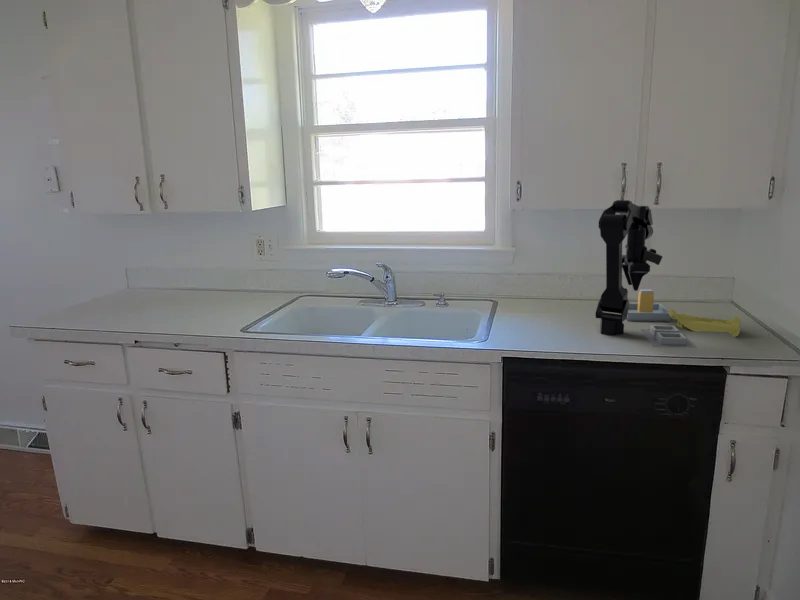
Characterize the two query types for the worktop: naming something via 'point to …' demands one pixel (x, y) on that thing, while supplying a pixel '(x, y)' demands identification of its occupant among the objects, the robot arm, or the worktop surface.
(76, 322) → the worktop surface
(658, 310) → the parts tray
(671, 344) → the board
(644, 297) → the block
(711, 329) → the plastic component
